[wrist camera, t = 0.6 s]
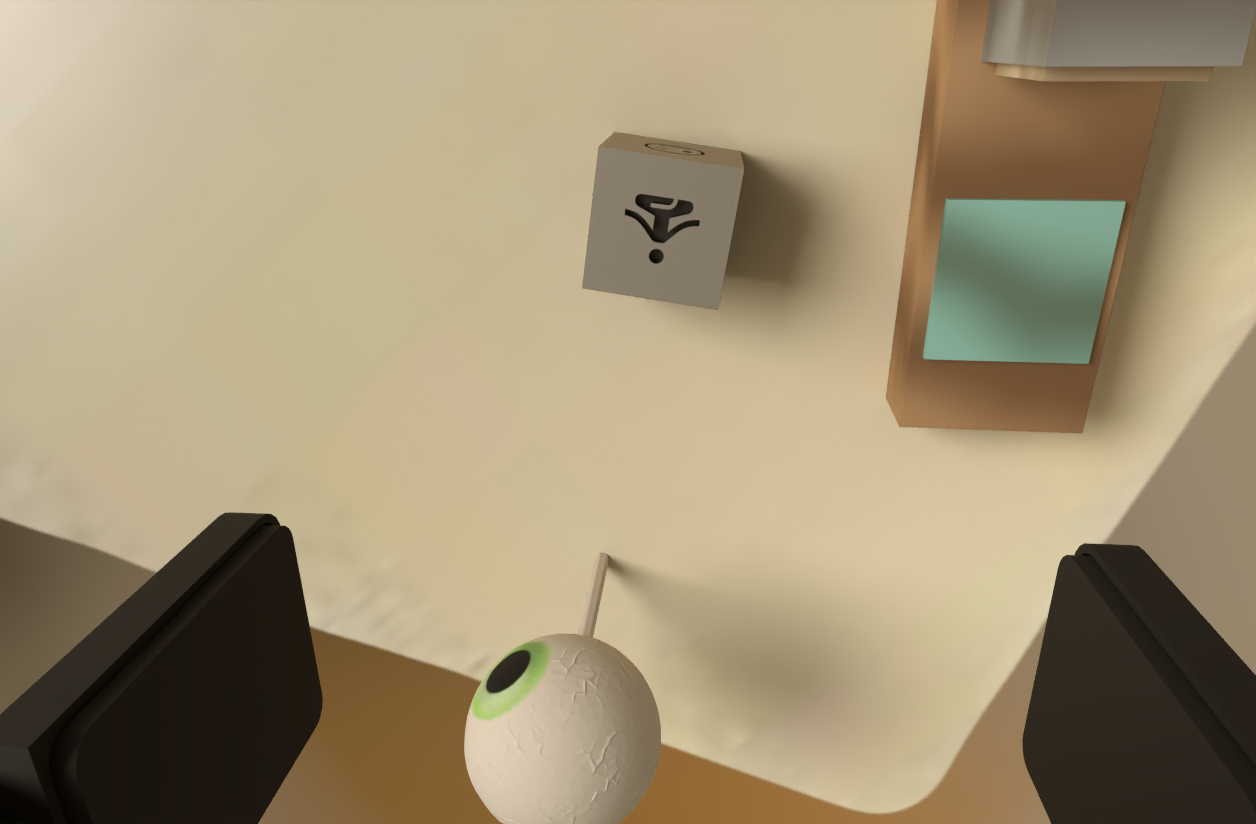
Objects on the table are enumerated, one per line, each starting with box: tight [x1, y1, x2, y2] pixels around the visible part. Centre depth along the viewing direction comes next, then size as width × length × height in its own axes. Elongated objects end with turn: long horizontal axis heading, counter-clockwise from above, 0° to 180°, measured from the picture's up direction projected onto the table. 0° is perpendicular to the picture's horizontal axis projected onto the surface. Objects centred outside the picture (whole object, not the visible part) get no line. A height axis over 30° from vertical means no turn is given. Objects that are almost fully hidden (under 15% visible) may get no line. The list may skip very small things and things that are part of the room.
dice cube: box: [582, 132, 744, 310], centre depth 32 cm, size 5×5×5 cm
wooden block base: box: [886, 0, 1256, 433], centre depth 28 cm, size 20×7×9 cm, turn 0°
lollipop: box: [464, 553, 661, 824], centre depth 34 cm, size 7×7×15 cm
